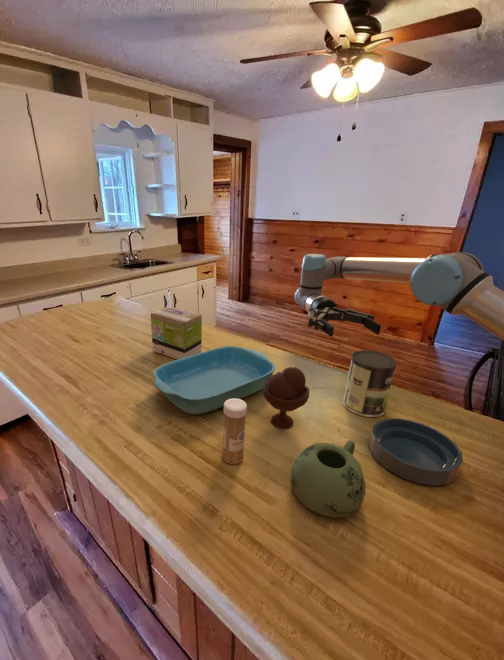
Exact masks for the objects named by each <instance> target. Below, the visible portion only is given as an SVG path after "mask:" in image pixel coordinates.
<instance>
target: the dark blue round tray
mask: <svg viewBox="0 0 504 660" xmlns="http://www.w3.org/2000/svg"><path fill="white" fill-rule="evenodd" d="M368 447H369V450H370V453H371V455H372V456H373V457H374V458H375V460H376V462H378V463H379V464H380V465H381V466H382V467H384V468H385V469H386V470H388V471H389V472H391V473H392V474H394V475H396V476H398V477H399V478H402V479H405V480H407V481H410V482H413V483H416V484H420V485H425V486H446V485H448V484H450V483H452V482H454V481H455V480H456V478H457V476H458V475H459V472H460V469H461V467H462V465H463V462H464V458H463V453H462V452H463V451H462V450H461V449H460V448H459V446H458V445H457V444H456V442H454V441H453V440H452V439H451V438H450V437H448V436H447V435H446V434H444V433H443V432H440V431H439V430H437V429H436V428H435V427H432V426H429V425H426V424H425V423H423V422H422V423H421V422H418V421H416V420H415V421H414V420H411V419H407V418H406V419H405V418H399V417H395V418H385V419H382V420H379V421H377V422H376V423H375V424H374V425H373V426H372V430H371V434H370V439H369V443H368Z"/></svg>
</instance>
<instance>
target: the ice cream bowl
mask: <svg viewBox="0 0 504 660" xmlns="http://www.w3.org/2000/svg"><path fill="white" fill-rule="evenodd" d="M261 390H262V395H263V398H264V399H265V401H267V402H268V403H269V405H270V406H271V407H272V408H273V409H276V410H279V413H276V414H274V415H272V416H271V419H270V423H271V424H272V425H273V426H274V427H275V428H278V429H283V430H285V429H286V430H288V429H290V428H292V427H293V426H294V419H293V418H292V417H291V416H290V415H287V414H288V413H287V412H293V411H295V410H298V409H299V408H301V407H303V406H305V405H306V403H307V402H308V400H309V397H310V387H308V386H307V385H306V376H305V373H304V372H303V371H302V370H301V369H300V368H298V367H296V366H294V367H293V366H289V367H285V368H284V369H283V370H282V371H277V372H276V373H273V374H272V375H271V376H270V377H269V379H268V380H267V381H265V382H264V384H263V388H262V389H261Z"/></svg>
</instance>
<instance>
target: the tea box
mask: <svg viewBox="0 0 504 660" xmlns="http://www.w3.org/2000/svg"><path fill="white" fill-rule="evenodd" d="M202 317H203V315H202V314H201V313H197V312H193V311H189V310H185V309H180V308H177V307H173V306H167V307H164V308H161V309H159V310H157V311H153V312H151V313H150V326H151V327H150V328H151V345H152V351H153V353H157V354H161V355H163V356H166V357H169V358H172V359H175V360H178V359H181V358H184V357H188V356H191V355H194V354H198V353H201V352H202V342H203V341H202V335H203V334H202V333H203V332H202V330H203V329H202V328H203V327H202V325H203V323H202V322H203V321H202V319H203V318H202Z"/></svg>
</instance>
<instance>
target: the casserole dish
mask: <svg viewBox="0 0 504 660" xmlns="http://www.w3.org/2000/svg"><path fill="white" fill-rule="evenodd" d="M275 370H276V364H275V363H273V362H272V361H271V360H270V358H269V356H268V355H266V354H265V353H263V352H260V351H258V350H256V349H251V348H245V347H241V346H237V345H226V346H220V347H216V348H211V349H209V350H208V349H207V350H205V351H201V353H198V354H194V355H191V356H188V357H184V358H181V359H178V360H177V359H175V360H172V361H169V362H165V363H163V364H161V365H159V366H157V367H156V368H155V369H154V370H153V373H152V374H153V378H154V380H153V381H154V382H153V385H154V387H155V388H156V389H157V390H158V391H159V392H160V393H161V394H162V395H163V396H164V397H165V398H166V399H167V400H168V401H170V402H171V403H172V404H173V405H174V406H175V407H177V408H178V409H179V410H181V411H183V412H184V413H187V414H190V415H193V416H194V415H201V414H206V413H209V412H212V411H214V410H217V409H219V408H222V407H224V403H225V401H227V400H228V399H232V398H236V399H241V400H242V399H244V398H247V397H248V396H250V395H251V396H252V395H253V394H254V393H255V394H256V393H257V392H259V391H260V390H262V388H263V384H264V382H265V381H267V380H268V379H269V377H270V376H271V375H274V372H275Z"/></svg>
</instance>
